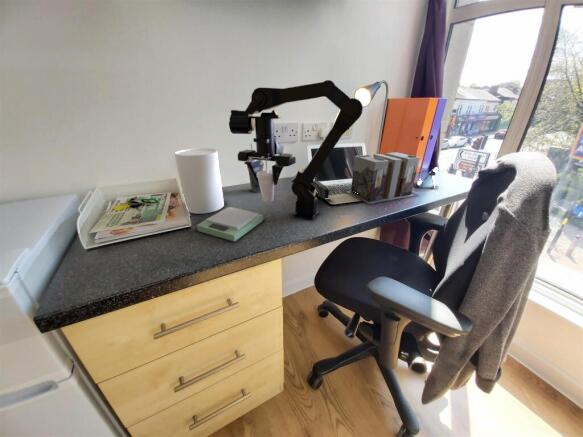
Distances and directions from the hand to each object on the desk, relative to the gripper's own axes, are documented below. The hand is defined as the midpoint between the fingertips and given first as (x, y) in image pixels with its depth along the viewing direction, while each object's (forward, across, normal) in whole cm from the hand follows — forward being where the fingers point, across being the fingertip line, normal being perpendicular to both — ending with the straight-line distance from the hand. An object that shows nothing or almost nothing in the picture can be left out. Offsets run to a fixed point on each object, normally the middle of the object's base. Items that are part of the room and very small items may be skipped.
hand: (267, 183), depth 79 cm
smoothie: (+6, 0, 0) cm, 6 cm away
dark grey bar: (+11, -11, -24) cm, 29 cm away
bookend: (+11, -33, -39) cm, 52 cm away
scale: (+11, +5, +14) cm, 18 cm away
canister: (+11, +24, +6) cm, 27 cm away
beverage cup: (+11, +17, -18) cm, 27 cm away
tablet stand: (+11, -51, -59) cm, 79 cm away
